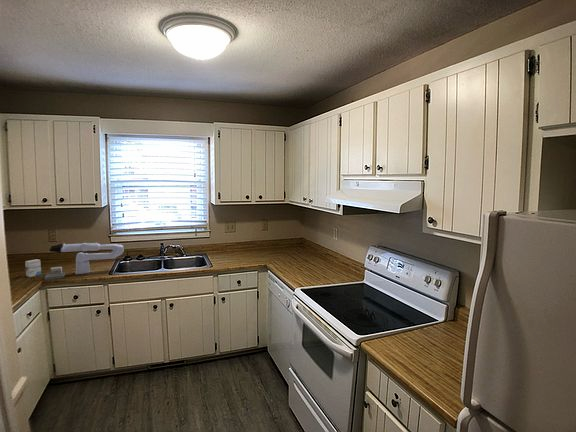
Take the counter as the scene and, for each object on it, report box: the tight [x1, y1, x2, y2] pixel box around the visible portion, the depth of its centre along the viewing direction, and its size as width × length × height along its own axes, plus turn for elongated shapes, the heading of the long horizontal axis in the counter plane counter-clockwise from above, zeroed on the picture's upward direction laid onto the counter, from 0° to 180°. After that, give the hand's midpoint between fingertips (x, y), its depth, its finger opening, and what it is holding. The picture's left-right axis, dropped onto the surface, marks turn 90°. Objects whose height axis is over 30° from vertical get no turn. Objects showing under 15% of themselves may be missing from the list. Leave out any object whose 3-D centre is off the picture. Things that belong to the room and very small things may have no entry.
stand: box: [43, 272, 66, 281], centre depth 260 cm, size 12×10×2 cm
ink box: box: [24, 259, 42, 278], centre depth 264 cm, size 8×5×12 cm, turn 152°
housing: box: [50, 266, 63, 274], centre depth 270 cm, size 7×5×5 cm
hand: (50, 248), depth 262 cm, fingers open, 7 cm apart
